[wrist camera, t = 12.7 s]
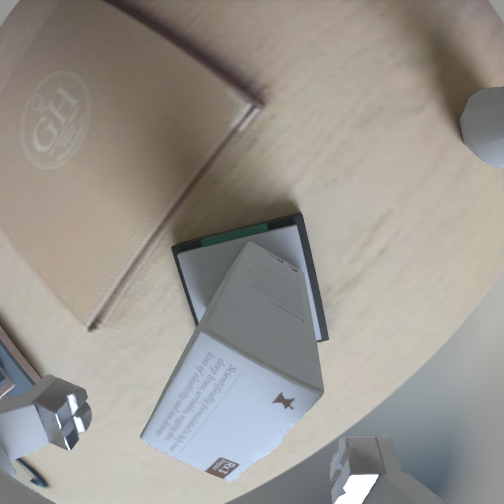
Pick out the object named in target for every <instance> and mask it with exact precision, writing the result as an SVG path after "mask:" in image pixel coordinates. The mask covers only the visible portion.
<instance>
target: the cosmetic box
mask: <svg viewBox="0 0 504 504" xmlns="http://www.w3.org/2000/svg"><path fill="white" fill-rule="evenodd" d="M323 393H324V386H323V380H322V374H321V367H320V361H319V354H318V349H317V342H316V336H315V331H314V325H313V319H312V313H311V308H310V302H309V296H308V291H307V286H306V280H305V275H304V273H303V272H302V271H301V270H299V269H298V268H296V267H294V266H293V265H291V264H289V263H288V262H286V261H284V260H283V259H281V258H279V257H278V256H276V255H274V254H273V253H271V252H269V251H268V250H266V249H264V248H263V247H261V246H259V245H257V244H256V243H254V242H252V241H249V242H247V243H246V245H245V246H244V248H243V249H242V251H241V252H240V253H239V255H238V256H237V258H236V259H235V261H234V263H233V264H232V266H231V267H230V269H229V270H228V272H227V274H226V275H225V277H224V279H223V280H222V282H221V284H220V286H219V287H218V289H217V291H216V293H215V294H214V296H213V298H212V300H211V302H210V303H209V305H208V307H207V309H206V311H205V313H204V314H203V316H202V318H201V320H200V322H199V324H198V326H197V327H196V329H195V331H194V333H193V335H192V337H191V338H190V340H189V342H188V344H187V346H186V348H185V350H184V352H183V354H182V355H181V357H180V359H179V361H178V363H177V365H176V367H175V369H174V371H173V373H172V374H171V376H170V378H169V380H168V382H167V384H166V386H165V388H164V390H163V392H162V394H161V396H160V398H159V400H158V402H157V404H156V406H155V409H154V411H153V413H152V415H151V417H150V419H149V420H148V422H147V424H146V426H145V428H144V430H143V431H142V433H141V435H140V438H141V439H142V440H143V441H145V442H146V443H148V444H149V445H151V446H153V447H155V448H156V449H158V450H160V451H162V452H164V453H166V454H168V455H170V456H172V457H174V458H176V459H178V460H180V461H182V462H185V463H187V464H189V465H191V466H193V467H195V468H198V469H200V470H203V471H205V472H207V473H210V474H212V475H215V476H217V477H220V478H222V479H224V480H227V481H233V480H235V479H236V478H237V477H238V476H239V475H240V474H242V473H243V472H244V471H245V470H246V469H247V468H249V467H250V466H251V465H252V464H253V463H254V462H255V461H257V460H259V459H261V458H263V457H264V456H266V455H267V454H269V453H270V452H271V451H273V450H274V449H275V448H276V447H277V446H278V445H279V444H280V443H281V441H282V440H283V439H284V437H285V435H286V433H287V432H288V431H289V430H290V429H291V428H292V427H293V426H294V425H295V424H296V423H297V422H298V421H299V420H300V419H301V417H302V416H303V415H304V414H305V413H306V412H307V411H308V410H309V409H310V408H311V407H312V406H313V405H314V404H315V403H316V402H317V401H318V400H319V399H320V398H321V397H322V395H323Z"/></svg>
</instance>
